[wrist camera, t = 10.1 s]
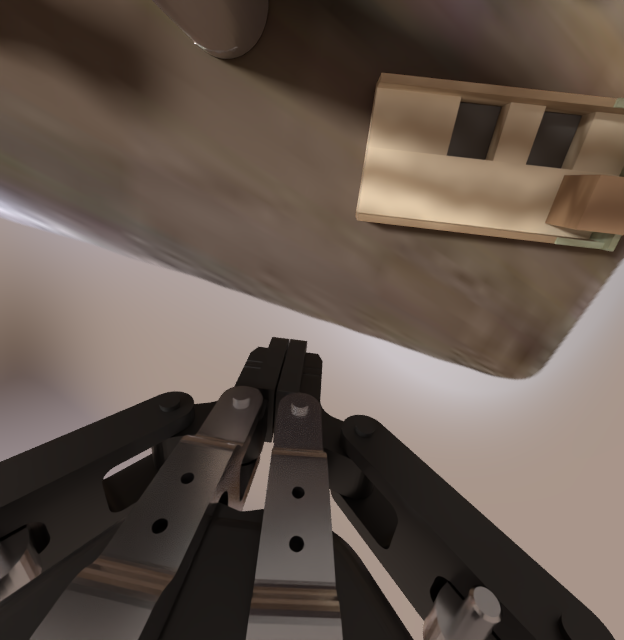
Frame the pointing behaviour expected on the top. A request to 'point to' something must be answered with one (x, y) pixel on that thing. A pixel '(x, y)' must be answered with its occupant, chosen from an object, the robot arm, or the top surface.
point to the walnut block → (589, 204)
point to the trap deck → (484, 157)
